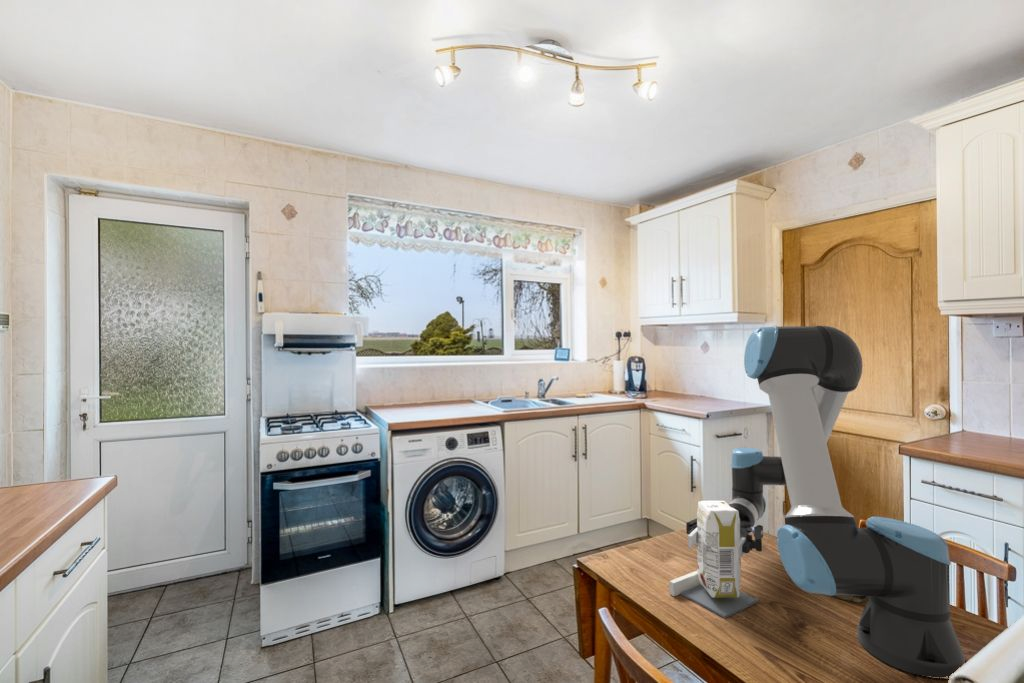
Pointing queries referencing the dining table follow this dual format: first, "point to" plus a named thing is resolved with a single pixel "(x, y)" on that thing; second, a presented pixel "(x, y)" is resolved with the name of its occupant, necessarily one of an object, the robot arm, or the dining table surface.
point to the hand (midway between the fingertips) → (712, 547)
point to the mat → (719, 601)
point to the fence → (684, 583)
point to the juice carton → (718, 548)
